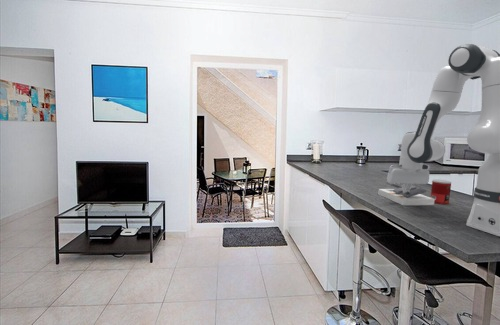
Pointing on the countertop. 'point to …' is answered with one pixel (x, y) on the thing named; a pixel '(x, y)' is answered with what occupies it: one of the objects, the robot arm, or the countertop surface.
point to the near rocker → (414, 192)
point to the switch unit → (404, 200)
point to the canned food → (441, 191)
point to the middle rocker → (400, 190)
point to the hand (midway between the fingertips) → (406, 192)
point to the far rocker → (394, 185)
